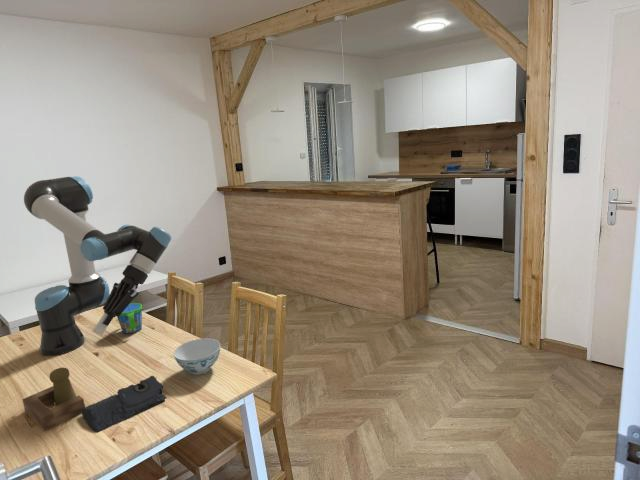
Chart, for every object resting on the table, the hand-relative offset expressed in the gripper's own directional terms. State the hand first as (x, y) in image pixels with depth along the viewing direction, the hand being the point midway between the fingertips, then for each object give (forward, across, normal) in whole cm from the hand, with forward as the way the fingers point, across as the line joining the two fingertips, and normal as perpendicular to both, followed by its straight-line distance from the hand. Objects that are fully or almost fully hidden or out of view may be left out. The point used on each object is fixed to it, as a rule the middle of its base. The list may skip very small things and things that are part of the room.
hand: (97, 333), depth 141 cm
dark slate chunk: (+14, -20, -10) cm, 26 cm away
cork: (+22, -2, -3) cm, 22 cm away
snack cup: (-5, +32, -31) cm, 44 cm away
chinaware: (-4, -21, -27) cm, 35 cm away
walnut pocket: (+24, -4, 0) cm, 24 cm away
